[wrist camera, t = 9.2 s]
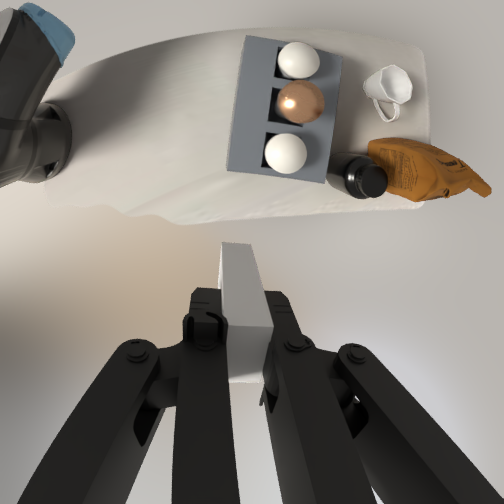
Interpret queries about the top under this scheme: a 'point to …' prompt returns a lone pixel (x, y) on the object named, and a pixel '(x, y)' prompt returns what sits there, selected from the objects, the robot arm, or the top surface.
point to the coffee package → (423, 170)
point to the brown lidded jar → (299, 102)
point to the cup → (389, 88)
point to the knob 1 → (297, 61)
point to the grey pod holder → (268, 123)
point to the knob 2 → (285, 153)
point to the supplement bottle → (356, 175)
